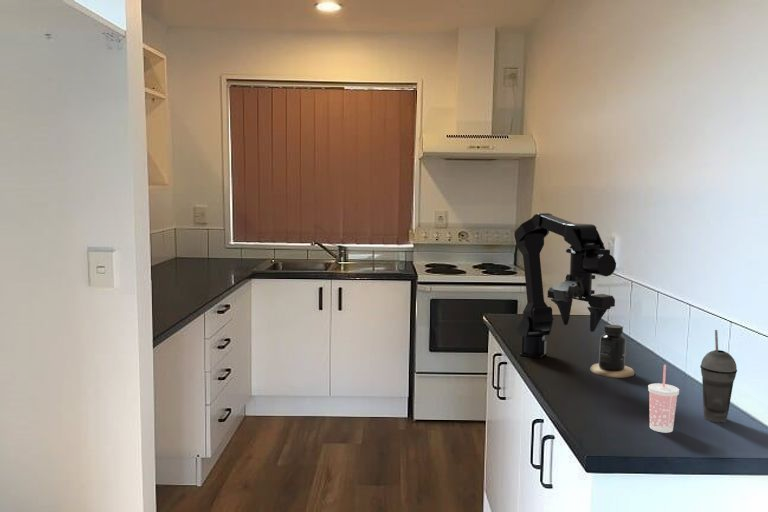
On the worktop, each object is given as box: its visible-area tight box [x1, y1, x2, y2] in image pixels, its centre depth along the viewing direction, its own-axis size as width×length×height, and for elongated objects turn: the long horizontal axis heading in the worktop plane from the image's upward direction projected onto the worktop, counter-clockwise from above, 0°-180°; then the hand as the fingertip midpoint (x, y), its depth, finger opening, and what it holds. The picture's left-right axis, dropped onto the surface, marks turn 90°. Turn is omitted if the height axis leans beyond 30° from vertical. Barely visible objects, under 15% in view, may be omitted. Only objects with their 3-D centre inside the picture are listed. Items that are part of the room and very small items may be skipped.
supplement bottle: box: [598, 324, 627, 371], centre depth 176 cm, size 7×7×12 cm
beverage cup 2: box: [699, 329, 738, 423], centre depth 140 cm, size 7×7×20 cm
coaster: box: [589, 362, 635, 379], centre depth 176 cm, size 12×12×1 cm
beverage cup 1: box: [647, 364, 680, 434], centre depth 135 cm, size 6×6×14 cm
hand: (578, 328), depth 172 cm, fingers open, 9 cm apart
